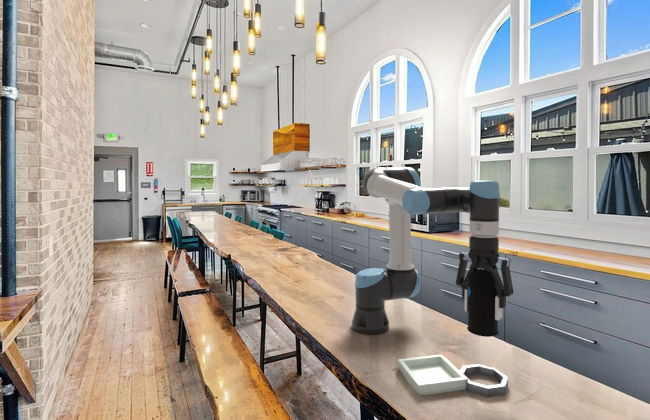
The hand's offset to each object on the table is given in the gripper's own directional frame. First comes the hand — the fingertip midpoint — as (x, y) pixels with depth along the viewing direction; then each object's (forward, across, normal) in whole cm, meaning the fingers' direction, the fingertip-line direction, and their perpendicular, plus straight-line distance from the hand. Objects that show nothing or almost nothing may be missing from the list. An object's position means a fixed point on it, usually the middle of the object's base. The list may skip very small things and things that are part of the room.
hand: (482, 314), depth 103 cm
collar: (+20, 0, 0) cm, 20 cm away
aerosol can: (+5, 0, 0) cm, 5 cm away
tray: (+21, -11, -8) cm, 25 cm away
